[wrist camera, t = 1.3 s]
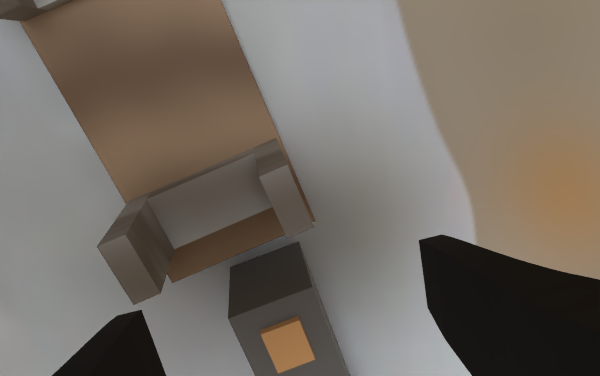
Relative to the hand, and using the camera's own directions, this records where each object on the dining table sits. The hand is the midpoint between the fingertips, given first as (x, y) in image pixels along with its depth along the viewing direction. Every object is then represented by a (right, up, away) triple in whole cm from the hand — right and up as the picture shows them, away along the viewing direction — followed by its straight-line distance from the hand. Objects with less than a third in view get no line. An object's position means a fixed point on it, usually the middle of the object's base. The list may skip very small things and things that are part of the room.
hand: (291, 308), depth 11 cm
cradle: (-5, +7, +7) cm, 12 cm away
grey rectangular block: (0, -5, +12) cm, 13 cm away
